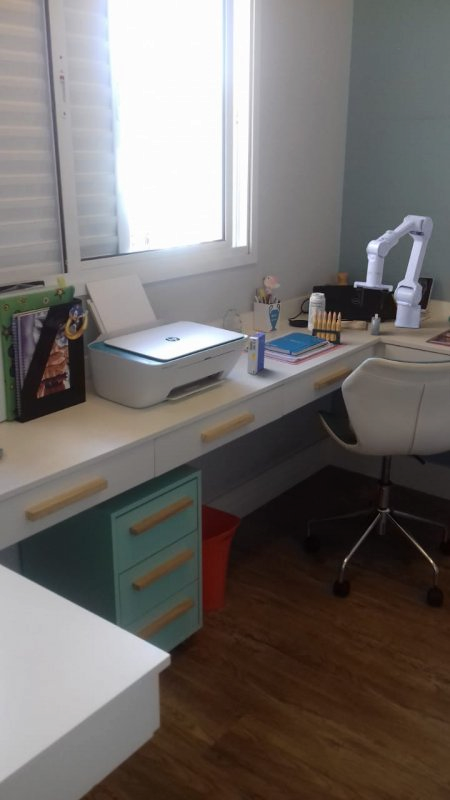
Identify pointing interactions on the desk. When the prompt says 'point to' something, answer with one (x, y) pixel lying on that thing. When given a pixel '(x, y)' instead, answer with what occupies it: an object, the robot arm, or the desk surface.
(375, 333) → the connector
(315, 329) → the ammunition clip
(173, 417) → the desk surface
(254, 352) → the purple white carton box
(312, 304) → the energy drink can
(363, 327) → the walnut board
